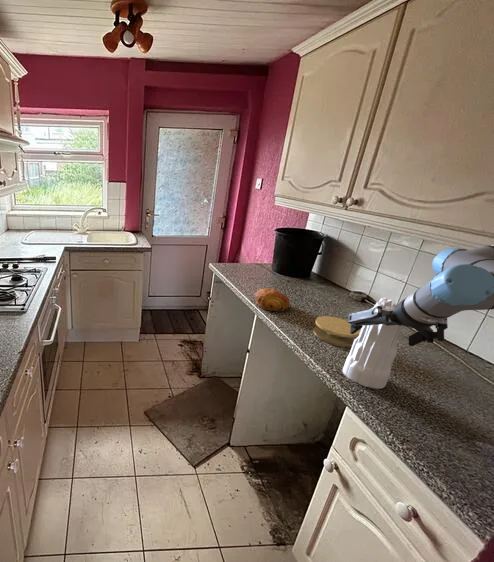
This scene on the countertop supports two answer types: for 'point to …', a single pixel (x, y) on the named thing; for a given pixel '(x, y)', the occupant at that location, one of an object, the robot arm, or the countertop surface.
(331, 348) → the countertop surface
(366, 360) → the decorative vase
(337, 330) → the stand
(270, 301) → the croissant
